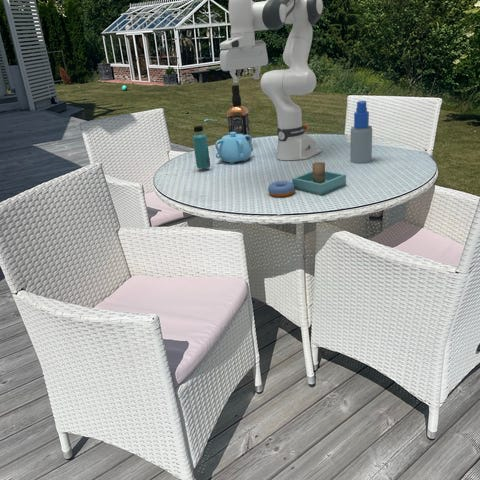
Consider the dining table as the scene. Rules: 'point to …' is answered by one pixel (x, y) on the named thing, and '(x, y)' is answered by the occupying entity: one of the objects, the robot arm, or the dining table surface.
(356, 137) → the spray bottle
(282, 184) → the doughnut
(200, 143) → the beverage bottle
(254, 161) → the dining table surface
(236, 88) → the whiskey bottle
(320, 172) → the brown wooden cylinder
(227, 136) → the decorative pot
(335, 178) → the box
